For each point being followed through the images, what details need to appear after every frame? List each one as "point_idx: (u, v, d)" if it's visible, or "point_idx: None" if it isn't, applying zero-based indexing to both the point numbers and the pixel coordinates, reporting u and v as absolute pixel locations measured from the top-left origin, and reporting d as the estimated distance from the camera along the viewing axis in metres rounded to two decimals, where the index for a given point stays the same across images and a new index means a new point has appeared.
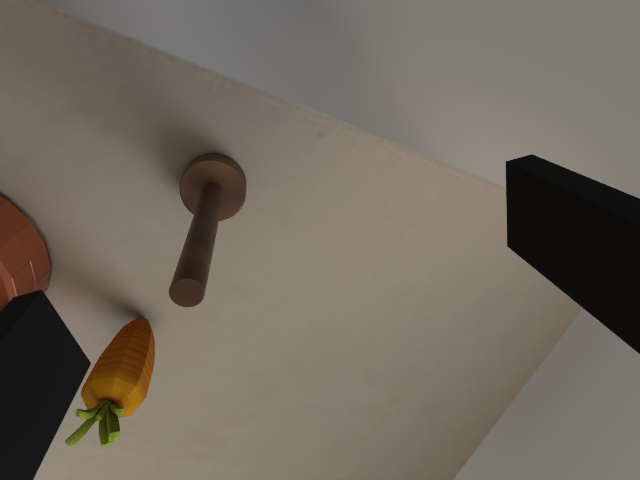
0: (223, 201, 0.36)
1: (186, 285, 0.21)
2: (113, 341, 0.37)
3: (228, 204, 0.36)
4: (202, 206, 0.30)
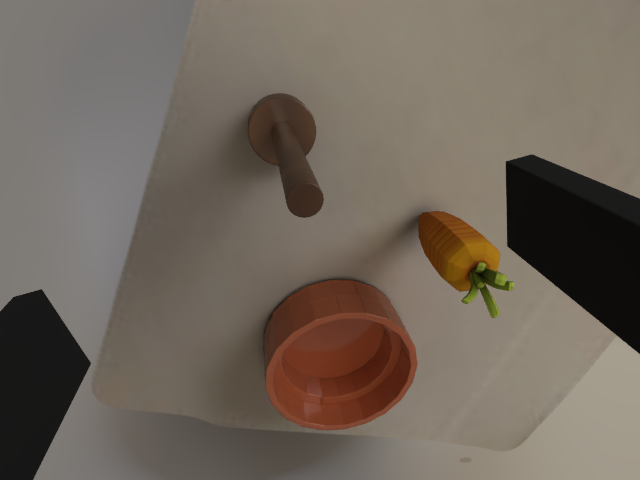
0: (293, 122, 0.34)
1: (295, 199, 0.20)
2: (424, 250, 0.37)
3: (297, 118, 0.34)
4: None
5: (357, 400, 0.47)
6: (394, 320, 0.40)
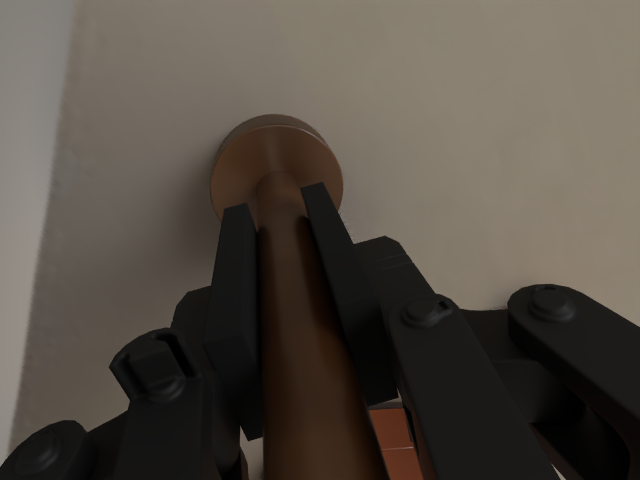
0: (299, 172, 0.17)
1: None
2: None
3: (307, 163, 0.17)
4: None
5: None
6: None
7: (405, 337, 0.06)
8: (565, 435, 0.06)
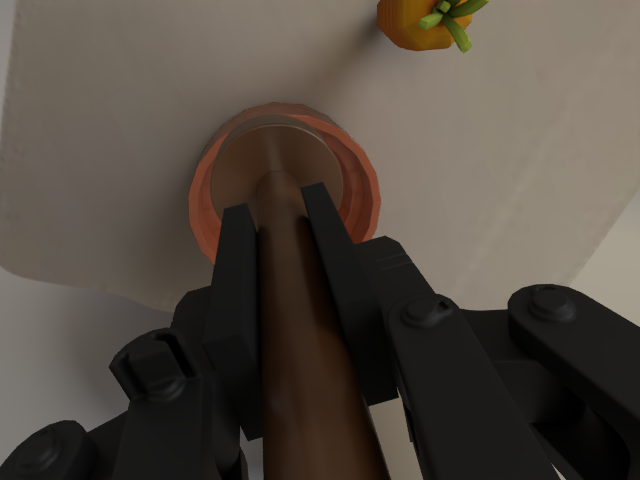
0: (299, 172, 0.17)
1: None
2: (381, 25, 0.29)
3: (307, 163, 0.17)
4: None
5: None
6: (349, 136, 0.32)
7: (405, 337, 0.06)
8: (565, 435, 0.06)
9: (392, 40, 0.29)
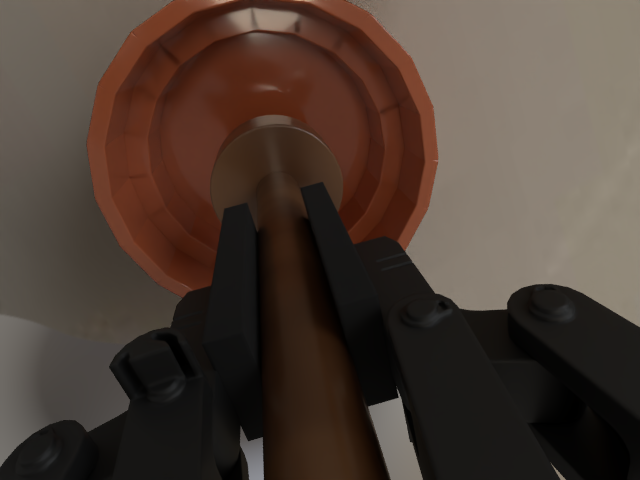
0: (299, 173, 0.17)
1: None
2: None
3: (307, 164, 0.17)
4: None
5: None
6: None
7: (405, 337, 0.06)
8: (565, 435, 0.06)
9: None
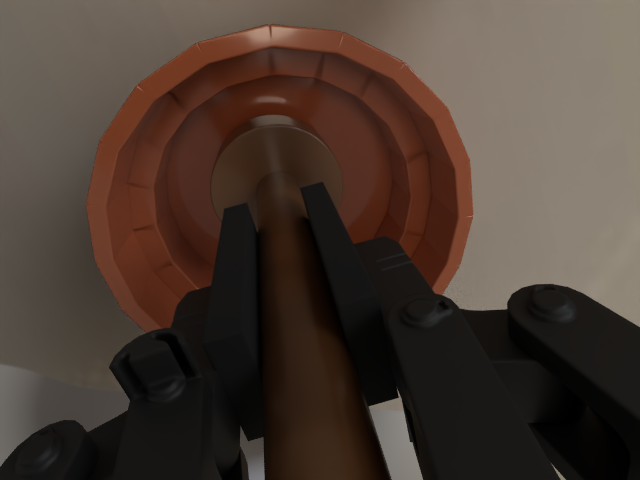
0: (299, 173, 0.17)
1: None
2: None
3: (307, 164, 0.17)
4: None
5: None
6: None
7: (405, 337, 0.06)
8: (566, 435, 0.06)
9: None
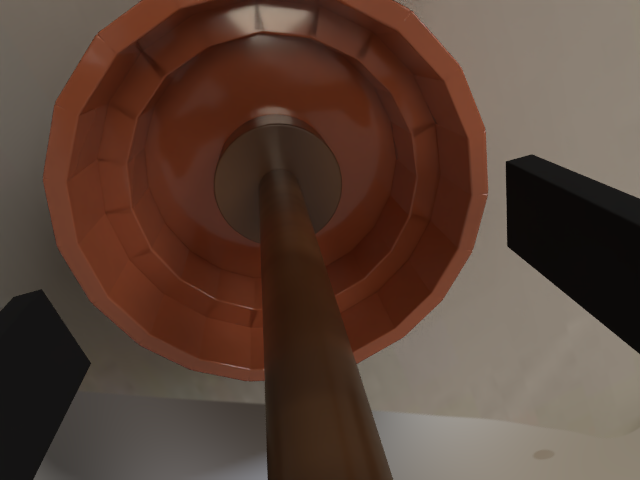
0: (300, 170, 0.18)
1: None
2: None
3: (307, 162, 0.18)
4: None
5: None
6: None
7: None
8: None
9: None
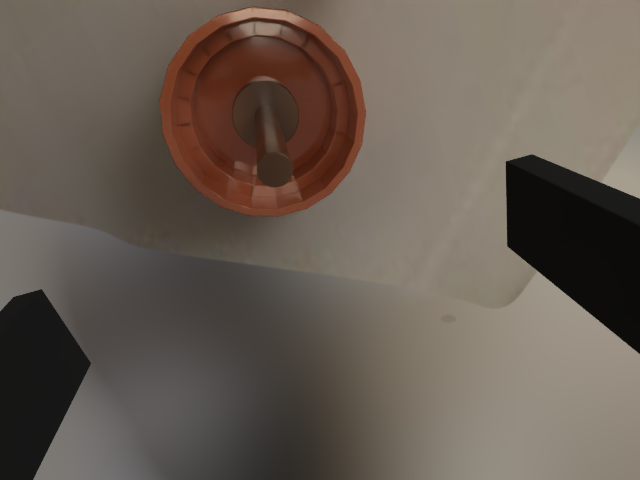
0: (276, 106, 0.34)
1: (265, 169, 0.20)
2: None
3: (280, 101, 0.34)
4: None
5: (298, 191, 0.37)
6: None
7: None
8: None
9: None
